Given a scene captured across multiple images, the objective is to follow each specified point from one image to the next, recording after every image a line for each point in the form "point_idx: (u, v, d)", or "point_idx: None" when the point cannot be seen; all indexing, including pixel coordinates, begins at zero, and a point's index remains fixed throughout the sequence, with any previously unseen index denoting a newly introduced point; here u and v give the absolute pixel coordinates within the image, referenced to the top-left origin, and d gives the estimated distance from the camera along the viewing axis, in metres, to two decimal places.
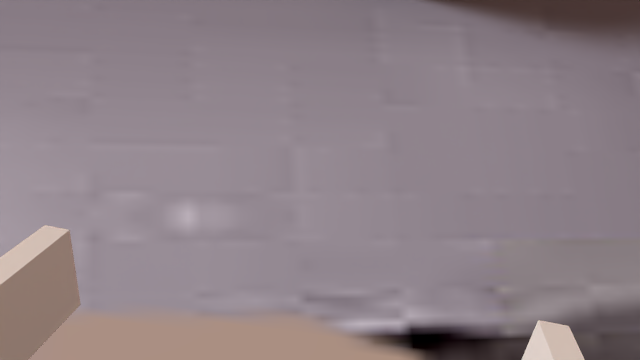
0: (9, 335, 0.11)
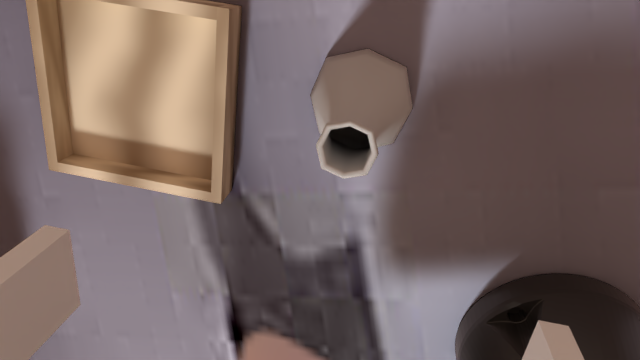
0: (9, 335, 0.11)
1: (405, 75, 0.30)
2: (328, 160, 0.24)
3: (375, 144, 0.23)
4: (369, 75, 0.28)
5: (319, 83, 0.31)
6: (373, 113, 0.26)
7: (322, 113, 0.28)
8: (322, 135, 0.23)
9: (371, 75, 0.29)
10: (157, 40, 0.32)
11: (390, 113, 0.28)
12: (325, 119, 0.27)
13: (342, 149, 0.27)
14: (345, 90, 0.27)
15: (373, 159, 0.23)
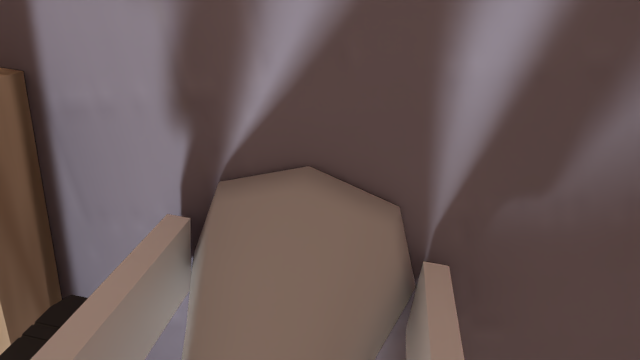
0: (152, 311, 0.12)
1: (396, 227, 0.13)
2: None
3: None
4: (303, 258, 0.11)
5: (202, 243, 0.14)
6: None
7: (182, 359, 0.11)
8: None
9: (308, 255, 0.11)
10: None
11: None
12: None
13: None
14: (228, 322, 0.10)
15: None
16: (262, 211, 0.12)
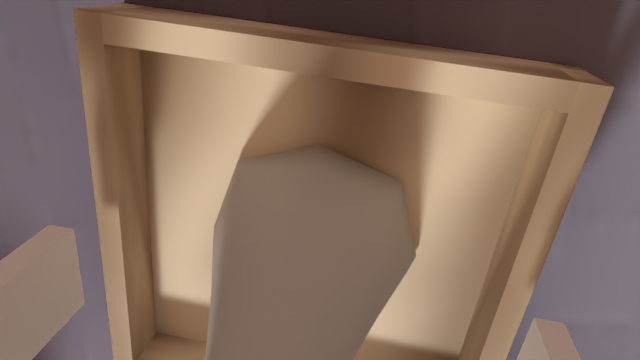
0: (15, 334, 0.11)
1: (399, 199, 0.15)
2: None
3: None
4: (316, 223, 0.13)
5: (223, 215, 0.15)
6: None
7: (210, 311, 0.12)
8: None
9: (321, 220, 0.13)
10: (363, 141, 0.15)
11: (364, 314, 0.12)
12: (207, 343, 0.11)
13: None
14: (253, 275, 0.11)
15: None
16: (279, 184, 0.14)
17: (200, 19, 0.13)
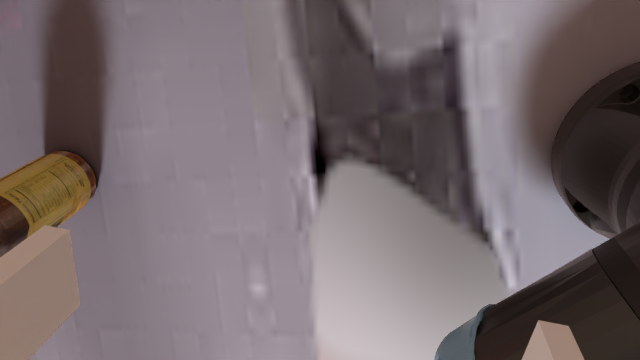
0: (9, 335, 0.11)
1: None
2: None
3: None
4: None
5: None
6: None
7: None
8: None
9: None
10: None
11: None
12: None
13: None
14: None
15: None
16: None
17: None
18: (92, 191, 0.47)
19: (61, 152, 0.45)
